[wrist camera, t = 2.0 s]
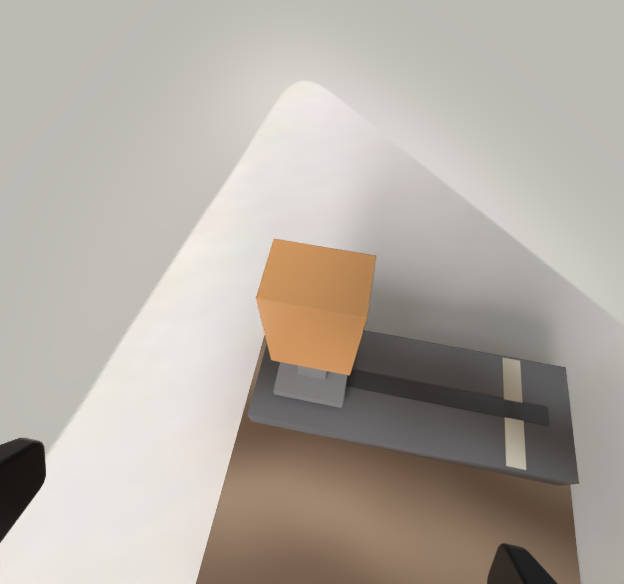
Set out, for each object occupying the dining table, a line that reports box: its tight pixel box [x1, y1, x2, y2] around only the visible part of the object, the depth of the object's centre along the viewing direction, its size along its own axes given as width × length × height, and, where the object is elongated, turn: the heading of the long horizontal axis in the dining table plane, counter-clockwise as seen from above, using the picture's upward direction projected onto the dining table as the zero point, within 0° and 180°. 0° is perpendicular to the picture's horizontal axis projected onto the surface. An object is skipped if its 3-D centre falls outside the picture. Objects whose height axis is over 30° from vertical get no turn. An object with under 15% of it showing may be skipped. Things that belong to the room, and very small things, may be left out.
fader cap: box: [256, 239, 376, 408], centre depth 15 cm, size 3×3×8 cm
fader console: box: [196, 330, 580, 584], centre depth 18 cm, size 12×15×3 cm
